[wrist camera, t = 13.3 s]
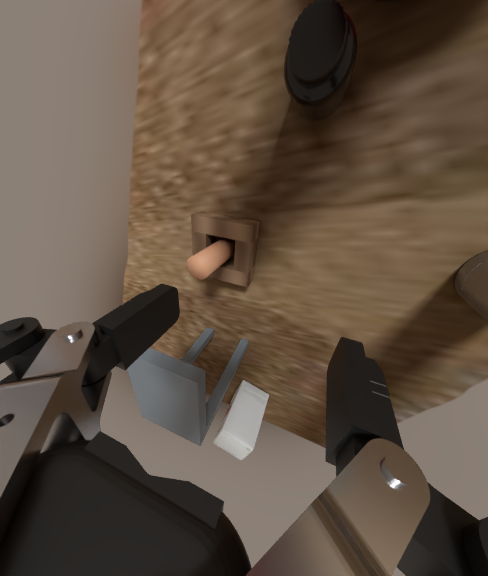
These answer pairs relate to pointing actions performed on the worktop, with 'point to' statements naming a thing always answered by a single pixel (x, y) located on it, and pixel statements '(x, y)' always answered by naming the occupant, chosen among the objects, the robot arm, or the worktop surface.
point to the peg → (210, 258)
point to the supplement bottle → (320, 59)
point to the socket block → (231, 228)
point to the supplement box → (242, 421)
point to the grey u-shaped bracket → (181, 389)
